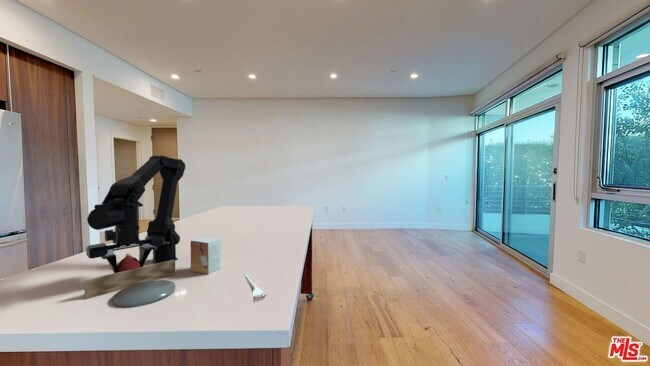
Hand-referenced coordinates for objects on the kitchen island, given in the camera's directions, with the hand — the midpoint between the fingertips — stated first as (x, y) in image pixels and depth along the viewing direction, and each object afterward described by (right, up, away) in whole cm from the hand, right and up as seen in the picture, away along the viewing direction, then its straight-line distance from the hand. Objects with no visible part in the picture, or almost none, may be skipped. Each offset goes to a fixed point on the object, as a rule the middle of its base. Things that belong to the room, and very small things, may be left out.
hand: (128, 272), depth 82 cm
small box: (+21, -2, +8) cm, 22 cm away
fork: (+40, -3, -5) cm, 41 cm away
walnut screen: (+5, -2, -4) cm, 6 cm away
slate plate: (+12, -2, -10) cm, 16 cm away
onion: (0, -2, 0) cm, 2 cm away
